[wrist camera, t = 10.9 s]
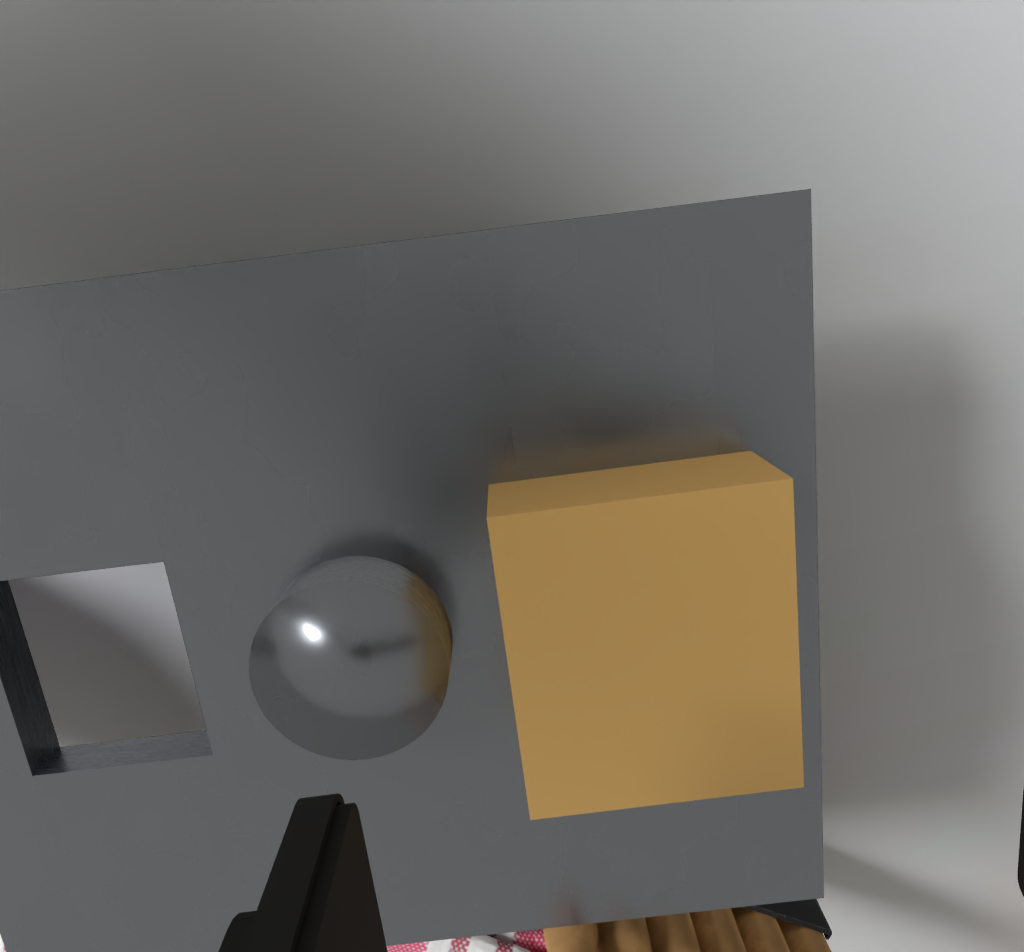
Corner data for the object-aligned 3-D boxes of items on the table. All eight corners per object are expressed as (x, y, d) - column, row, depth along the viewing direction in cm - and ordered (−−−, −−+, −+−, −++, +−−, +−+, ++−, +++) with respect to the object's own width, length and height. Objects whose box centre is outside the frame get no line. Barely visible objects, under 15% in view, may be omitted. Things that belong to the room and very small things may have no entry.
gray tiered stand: (35, 306, 24) (-296, 321, 14) (699, 223, 24) (843, 178, 14) (163, 775, 29) (-19, 1040, 19) (725, 711, 29) (849, 946, 18)
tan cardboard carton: (491, 433, 23) (486, 517, 14) (686, 408, 23) (792, 478, 14) (520, 640, 24) (530, 819, 16) (701, 617, 24) (803, 787, 16)
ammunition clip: (522, 784, 29) (536, 1111, 18) (540, 746, 29) (566, 1055, 17) (764, 864, 30) (926, 1221, 19) (784, 828, 30) (963, 1171, 18)
